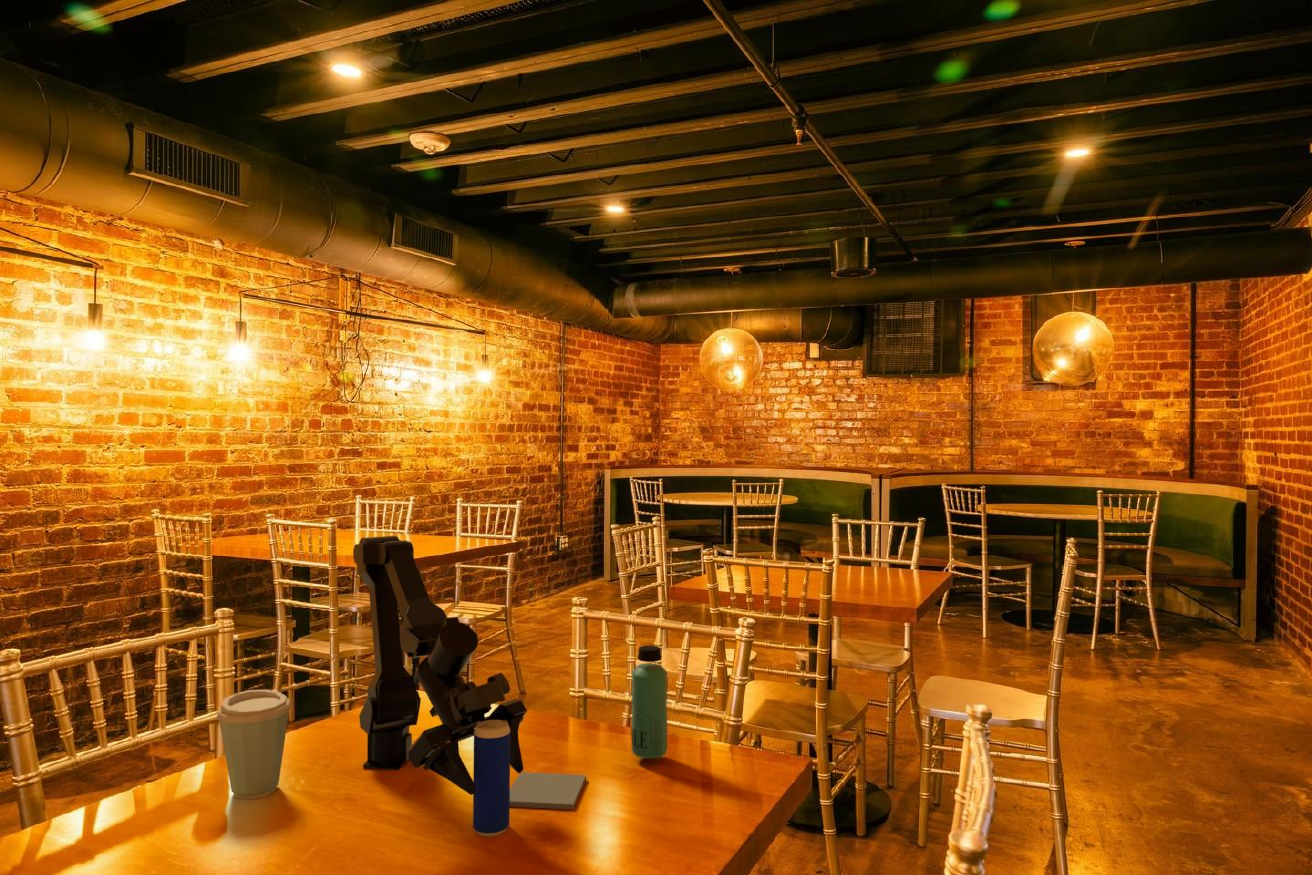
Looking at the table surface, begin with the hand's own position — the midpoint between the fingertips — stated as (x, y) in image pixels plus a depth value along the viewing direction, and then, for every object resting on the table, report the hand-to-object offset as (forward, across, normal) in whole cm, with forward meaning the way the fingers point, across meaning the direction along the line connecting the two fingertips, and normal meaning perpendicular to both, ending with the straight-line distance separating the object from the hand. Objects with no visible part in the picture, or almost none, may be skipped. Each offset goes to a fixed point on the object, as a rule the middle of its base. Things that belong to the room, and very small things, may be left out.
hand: (498, 781), depth 117 cm
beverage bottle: (+7, +34, +4) cm, 35 cm away
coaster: (+2, +14, +8) cm, 16 cm away
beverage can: (+4, 0, +6) cm, 7 cm away
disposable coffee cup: (-24, -14, +34) cm, 44 cm away
